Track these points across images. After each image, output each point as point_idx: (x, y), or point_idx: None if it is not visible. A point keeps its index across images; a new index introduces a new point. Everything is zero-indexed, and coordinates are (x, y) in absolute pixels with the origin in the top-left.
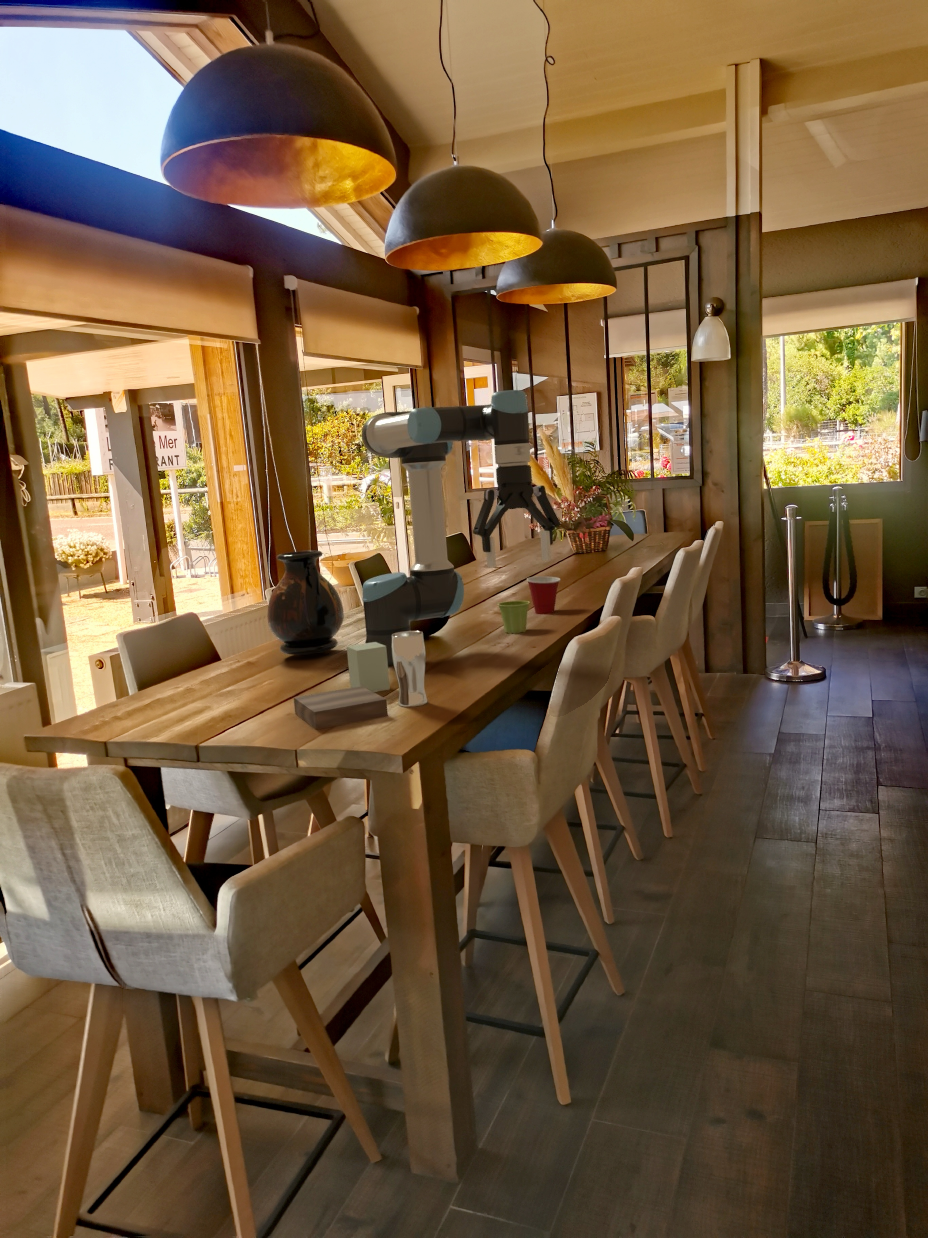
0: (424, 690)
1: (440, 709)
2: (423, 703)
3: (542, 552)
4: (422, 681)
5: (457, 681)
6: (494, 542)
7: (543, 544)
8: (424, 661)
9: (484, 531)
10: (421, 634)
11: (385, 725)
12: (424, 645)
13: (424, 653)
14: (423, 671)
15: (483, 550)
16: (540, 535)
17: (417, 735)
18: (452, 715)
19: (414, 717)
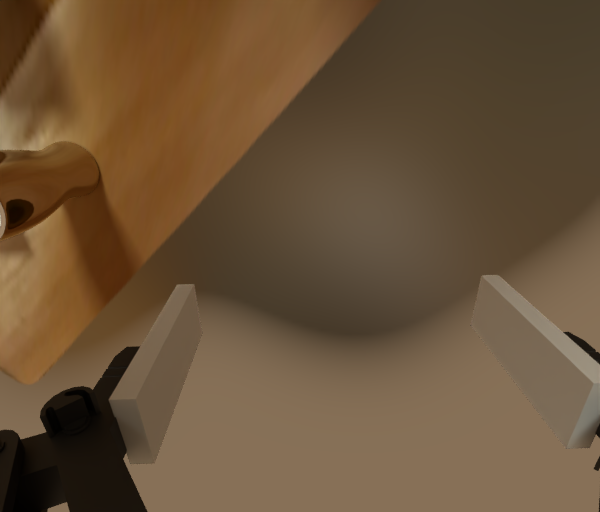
0: (83, 186)
1: (113, 238)
2: (88, 193)
3: (499, 306)
4: (68, 198)
5: (201, 42)
6: (166, 429)
7: (522, 345)
8: (50, 213)
9: (62, 497)
10: (2, 237)
11: (13, 269)
12: (31, 217)
13: (40, 219)
14: (59, 206)
15: (121, 357)
16: (567, 360)
17: (57, 336)
18: (124, 281)
19: (63, 256)
